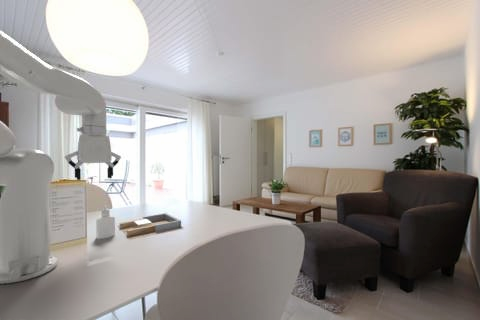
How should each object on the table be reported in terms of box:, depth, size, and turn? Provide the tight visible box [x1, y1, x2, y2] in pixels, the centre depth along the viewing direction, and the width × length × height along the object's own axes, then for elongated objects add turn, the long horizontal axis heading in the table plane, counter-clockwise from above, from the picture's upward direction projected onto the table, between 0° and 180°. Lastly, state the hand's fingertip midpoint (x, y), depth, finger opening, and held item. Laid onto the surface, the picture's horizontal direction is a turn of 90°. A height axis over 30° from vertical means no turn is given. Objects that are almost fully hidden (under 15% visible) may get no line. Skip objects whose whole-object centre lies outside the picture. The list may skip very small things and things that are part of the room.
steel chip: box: [133, 219, 152, 228], centre depth 91 cm, size 6×5×3 cm
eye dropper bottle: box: [95, 205, 116, 240], centre depth 81 cm, size 4×6×12 cm
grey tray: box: [142, 212, 182, 232], centre depth 95 cm, size 16×10×2 cm, turn 40°
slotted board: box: [117, 218, 185, 240], centre depth 92 cm, size 20×20×3 cm
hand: (94, 178), depth 83 cm, fingers open, 9 cm apart
